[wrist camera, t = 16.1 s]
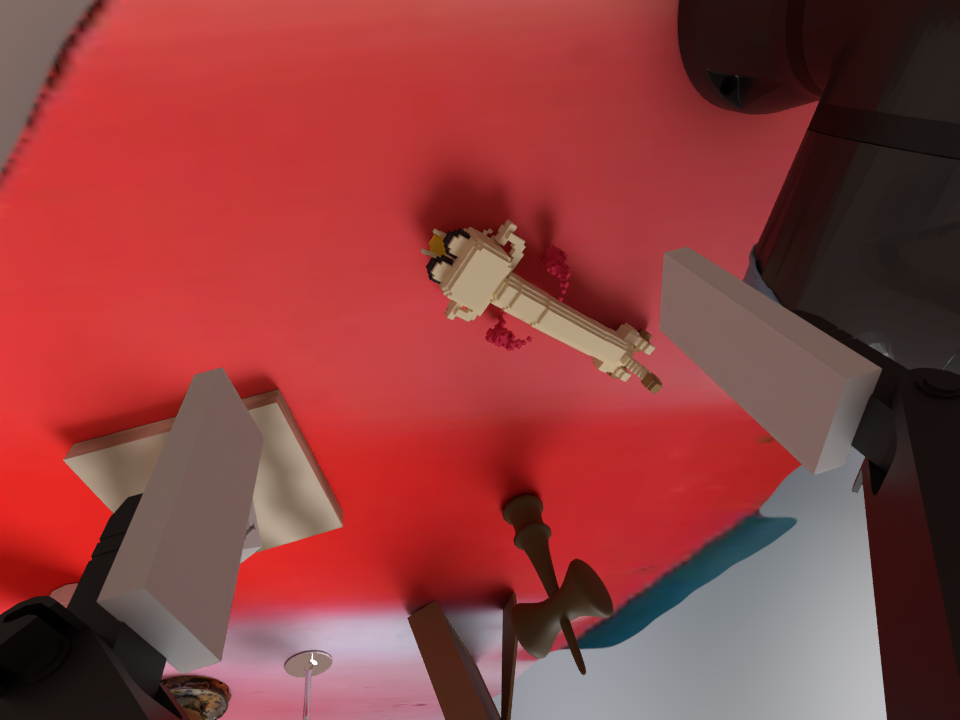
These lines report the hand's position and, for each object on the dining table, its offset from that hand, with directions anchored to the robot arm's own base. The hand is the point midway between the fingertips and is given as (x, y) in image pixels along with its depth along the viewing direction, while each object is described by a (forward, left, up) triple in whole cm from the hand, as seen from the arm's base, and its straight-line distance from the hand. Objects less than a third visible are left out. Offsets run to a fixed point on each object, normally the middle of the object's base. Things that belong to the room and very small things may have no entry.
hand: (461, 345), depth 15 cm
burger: (+46, +62, -27) cm, 82 cm away
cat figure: (-10, +15, -27) cm, 33 cm away
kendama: (-5, +43, -27) cm, 51 cm away
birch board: (+24, +26, -27) cm, 44 cm away
